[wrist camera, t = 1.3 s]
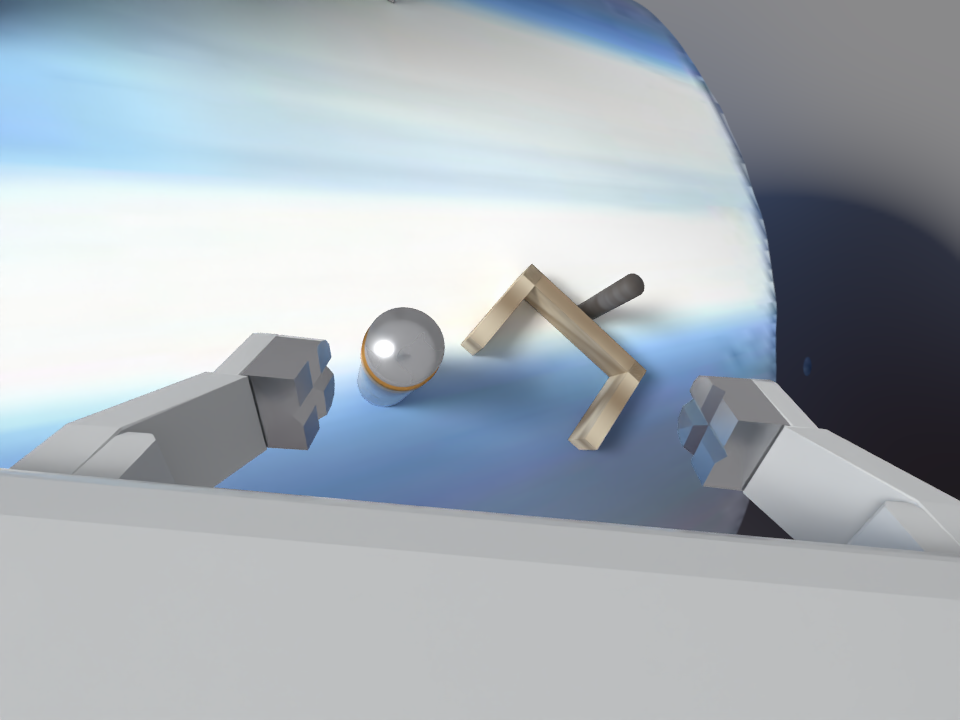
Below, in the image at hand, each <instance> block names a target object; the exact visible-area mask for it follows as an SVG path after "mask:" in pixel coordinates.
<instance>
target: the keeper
mask: <svg viewBox="0 0 960 720" xmlns="http://www.w3.org/2000/svg"><path fill="white" fill-rule="evenodd" d="M643 291H644V283H643V280H642V279H641V278H640V277H639V276H638V275H636V274H628V275H627V276H625V277H624V278H622V279H620V280H619V281H617V282H615V283H614V284H612V285H611V286H609V287H607V288H606V289H604V290H603V291H601V292H599V293H598V294H596V295H594V296H593V297H591V298H590V299H588V300H586V301H585V302H583V303H581V304H580V305H578V306H577V305H576V304H575V303H573V302H572V301H571V300H570V299H569V298H568V297H567V296H566V295H565V294H564V293H563V292H562V291H561V290H560V289H558V288H557V287H556V286H555V285H554V284H553V283H552V282H551V281H550V280H549V279H548V278H547V277H546V276H544V275H543V274H542V273H541V272H540V271H539V270H538V269H537V268H536V267H535V266H534V265H533V264H531V265H530V266H529V267H528V268H527V269H526V270H525V271H524V272H523V273H522V274H521V275H520V276H519V277H518V278H517V279H516V281H515V282H514V283H513V284H512V285H511V286H510V288H509V289H508V290H507V291H506V292H505V293H504V295H503V296H502V297H501V298H500V299H499V300H498V302H497V303H496V304H495V305H494V306H493V307H492V309H491V310H490V311H489V312H488V313H487V314H486V316H485V317H484V318H483V319H482V320H481V321H480V323H479V324H478V325H477V326H476V327H475V328H474V330H473V331H472V332H471V333H470V334H469V335H468V337H467V338H466V339H465V340H464V341H463V342H462V344H461V346H463V347H464V348H465V349H466V350H467V351H468V352H469V353H471V354H472V355H474V354H476V353H477V352H478V351H480V350H481V349H482V348H484V346H485V345H486V344H487V343H488V341H489V340H490V339H491V338H492V337H493V335H494V334H495V333H496V332H497V331H498V329H499V328H500V327H501V326H502V325H503V323H504V322H505V321H506V320H507V319H508V317H509V316H510V315H511V314H512V313H513V311H514V310H515V309H516V308H517V307H518V305H519V304H520V303H521V302H522V300H523V299H525V300H526V301H527V302H528V303H529V304H530V305H531V306H533V307H534V308H535V309H536V310H537V311H538V312H539V313H540V314H541V315H542V316H543V317H545V318H546V319H547V320H548V321H549V322H550V323H551V324H552V325H553V326H554V327H555V328H557V329H558V330H559V331H560V332H561V333H562V334H563V335H564V336H565V337H566V338H567V339H568V340H570V341H571V342H572V343H573V344H574V345H575V346H576V347H577V348H578V349H579V350H580V351H582V352H583V353H584V354H585V355H586V356H587V357H588V358H589V359H590V360H591V361H592V362H594V363H595V364H596V365H597V366H598V367H599V368H600V369H601V370H602V371H603V372H604V373H606V374H607V375H608V376H609V378H608V380H607V381H606V383H605V384H604V386H603V388H602V389H601V391H600V392H599V394H598V395H597V397H596V398H595V400H594V401H593V403H592V404H591V406H590V407H589V409H588V410H587V412H586V413H585V415H584V416H583V418H582V419H581V421H580V422H579V424H578V425H577V427H576V428H575V430H574V431H573V433H572V434H571V436H570V437H569V439H568V440H569V441H570V442H571V443H572V444H573V445H574V446H576V447H577V448H578V449H579V450H597V449H598V448H599V446H600V444H601V443H602V441H603V440H604V438H605V436H606V435H607V433H608V432H609V430H610V428H611V427H612V425H613V424H614V422H615V420H616V419H617V417H618V416H619V414H620V412H621V411H622V409H623V408H624V406H625V404H626V403H627V401H628V400H629V398H630V396H631V395H632V393H633V392H634V390H635V388H636V387H637V385H638V384H639V382H640V380H641V379H642V377H643V376H644V374H645V372H646V370H645V369H644V368H643V367H642V366H641V365H640V364H639V363H638V362H637V361H636V360H635V359H634V358H632V357H631V356H630V355H629V354H628V353H627V352H626V351H625V350H624V349H623V348H622V347H621V346H620V345H619V344H617V343H616V342H615V341H614V340H613V339H612V338H611V337H610V336H609V335H608V334H607V333H606V332H605V331H604V330H602V329H601V328H600V327H599V326H598V325H597V324H596V323H595V322H594V321H593V319H595V318H597V317H599V316H601V315H603V314H605V313H607V312H609V311H611V310H613V309H614V308H616V307H618V306H620V305H622V304H624V303H626V302H628V301H630V300H632V299H633V298H635V297H637V296H639V295H641V294H642V293H643Z"/></svg>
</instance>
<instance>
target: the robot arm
mask: <svg viewBox="0 0 960 720" xmlns="http://www.w3.org/2000/svg"><path fill="white" fill-rule="evenodd" d="M330 359H331V352H330V346H329V344H328V342H327V341H326V340H322V339H313V338H304V337H295V336H287V335H278V334H268V333H253V334H252V335H251V336H250V337H249V338H248V339H247V340H246V341H245V342H244V343H243V344H242V345H241V346H240V347H239V348H237V349H236V350H235V351H234V352H233V353H232V354H231V355H230V356H229V357H228V358H227V359H226V360H225V361H224V362H223V363H222V364H221V365H220V366H219V367H218V368H217V369H216V370H215V371H214V372H213V373H211V372H204V373H201V374H199V375H196V376H193V377H191V378H188V379H185V380H183V381H180V382H177V383H175V384H172V385H169V386H167V387H164V388H161V389H159V390H156V391H153V392H151V393H148V394H145V395H143V396H140V397H137V398H135V399H132V400H129V401H127V402H124V403H121V404H119V405H116V406H113V407H111V408H108V409H105V410H103V411H100V412H97V413H95V414H92V415H89V416H87V417H84V418H81V419H79V420H76V421H73V422H71V423H68V424H66V425H65V426H63V427H62V428H61V429H59V430H58V431H57V432H56V433H54V434H53V435H52V436H51V437H49V438H48V439H47V440H45V441H44V442H43V443H42V444H40V445H39V446H38V447H36V448H35V449H34V450H33V451H31V452H30V453H29V454H27V455H26V456H25V457H24V458H22V459H21V460H20V461H18V462H17V463H16V464H15V465H13V466H12V467H11V468H9V469H5V468H0V720H960V501H959V500H957V499H955V498H953V497H951V496H949V495H948V494H946V493H944V492H942V491H940V490H938V489H936V488H934V487H933V486H931V485H929V484H927V483H925V482H923V481H921V480H919V479H917V478H916V477H914V476H912V475H910V474H908V473H906V472H904V471H903V470H901V469H899V468H897V467H895V466H893V465H891V464H890V463H888V462H886V461H884V460H882V459H880V458H878V457H876V456H875V455H872V454H871V453H869V452H867V451H865V450H864V449H862V448H860V447H858V446H856V445H854V444H852V443H850V442H849V441H847V440H845V439H843V438H841V437H839V436H837V435H835V434H834V433H831V432H830V431H828V430H826V429H818V428H817V426H816V425H815V424H814V423H813V422H812V421H811V420H810V419H809V418H808V417H807V416H806V415H805V413H804V412H803V411H802V410H801V409H800V408H799V407H798V406H797V405H796V404H795V403H794V402H793V400H792V399H791V398H790V397H789V396H788V395H787V394H786V393H785V392H784V391H783V390H782V389H781V388H780V387H779V385H778V384H777V383H775V382H773V381H771V380H762V379H743V378H728V377H713V376H698V378H697V379H696V380H695V381H694V382H693V385H692V387H691V389H690V393H691V395H692V398H693V399H692V400H691V401H690V402H688V403H687V404H685V405H684V406H683V407H682V410H681V412H680V415H679V417H678V428H677V431H678V436H679V439H680V442H681V444H682V446H683V447H684V448H685V449H686V450H688V451H689V452H690V453H691V454H693V455H694V456H693V458H692V460H691V464H692V466H693V468H694V470H695V472H696V474H697V476H698V478H699V480H700V482H701V484H702V486H706V487H714V488H723V489H731V490H740V491H743V493H744V494H745V495H746V496H747V497H748V498H749V499H750V500H751V501H753V502H754V503H755V504H756V505H757V506H758V507H759V508H760V509H761V510H763V511H764V512H765V513H766V514H767V515H768V516H769V517H770V518H771V519H772V520H774V521H775V522H776V523H777V524H778V525H779V526H780V527H781V528H782V529H784V530H785V531H786V532H787V533H788V534H789V535H790V536H791V537H792V538H793V539H795V540H788V539H778V538H767V537H756V536H746V535H735V534H724V533H713V532H702V531H691V530H680V529H669V528H658V527H647V526H636V525H626V524H615V523H604V522H593V521H581V520H570V519H559V518H548V517H536V516H525V515H514V514H503V513H491V512H480V511H469V510H458V509H446V508H435V507H424V506H413V505H402V504H391V503H380V502H369V501H358V500H347V499H335V498H324V497H313V496H302V495H291V494H280V493H269V492H258V491H247V490H236V489H225V488H214V486H216V485H217V484H219V483H220V482H222V481H223V480H224V479H226V478H227V477H229V476H230V475H231V474H233V473H234V472H236V471H237V470H238V469H240V468H241V467H243V466H244V465H246V464H247V463H248V462H250V461H251V460H253V459H254V458H255V457H257V456H258V455H260V454H261V453H263V452H264V451H265V450H267V448H283V449H299V450H308V449H309V447H310V445H311V443H312V441H313V440H314V438H315V436H316V434H317V432H318V430H319V421H318V419H320V418H322V417H323V416H325V415H327V413H328V411H329V409H330V407H331V405H332V401H333V396H334V385H335V383H334V374H333V373H332V372H331V371H330V370H329V368H328V367H327V366H326V365H327V364H328V362H329V360H330ZM266 447H267V448H266Z"/></svg>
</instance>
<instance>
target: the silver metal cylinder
mask: <svg viewBox="0 0 960 720" xmlns="http://www.w3.org/2000/svg"><path fill="white" fill-rule="evenodd" d="M444 348H445V346H444V338H443V335H442V332H441V330H440V328H439V327H438V325H437V324H436V322H435V321H434V320H433V319H432V318H431V317H429V316H428V315H427V314H425V313H423V312H422V311H419V310H416V309H413V308H405V307H401V308H395V309H391V310H388V311H386V312H384V313H383V314H381V315H380V316H379V317H378V318H376V319H375V321H374V322H373V323H372V325H371V326H370V327H369V329H368V330H367V332H366V334H365V336H364V339H363V343H362V348H361V364H360V369H359V373H358V379H357V384H358V388H359V391H360V393H361V395H362V396H363V397H364V399H365V400H367V401H368V402H369V403H371V404H373V405H376V406H380V407H388V406H392V405H395V404H397V403H399V402H400V401H401V400H402V399H404V398H405V397H406V396H407V395H408V394H410V393H411V392H412V391H414V390H416V389H418V388H420V387H421V386H423V385H424V384H425V383H426V382H427V381H429V380H430V379H431V378H432V377H433V376H434V374H435V373H436V371H437V369H438V368H439V365H440V364H441V362H442V359H443V356H444Z"/></svg>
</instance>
